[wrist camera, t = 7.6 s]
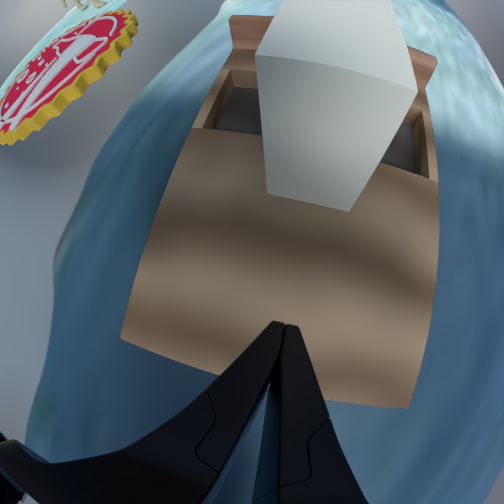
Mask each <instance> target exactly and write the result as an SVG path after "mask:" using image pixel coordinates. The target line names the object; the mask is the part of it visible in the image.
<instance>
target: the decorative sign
mask: <svg viewBox="0 0 504 504" xmlns="http://www.w3.org/2000/svg"><path fill="white" fill-rule="evenodd" d="M137 25H138V21H137V19H136V17H135V15H134V14H132V13H131V11H130V10H129V11H125V12H123V10H122V9H121V10H118V11H115V12H112V11H109V12H104V13H102V14H100V15H96V16H95V17H93V18H91V19H89V20H85V21H83V22H81V23H80V24H78V25H77V26H75V27H73V28H70V29H69V30H67V31H66V32H65V33H64V34H62V35H61V36H59V37H57V38H55V39H54V40H53V41H52V42H51V43H50V44H49V45H48V46H46V47H45V48H43V49H42V50H41V51H40V52H39V53H38V54H37V55H36V56H35V57H34V58H33V59H32V60H31V61H29V62H28V63H27V65H26V66H25V68H24V69H23V70H22V71H21V72H20V73H19V74H18V75H17V76H16V77H15V79H14V81H13V83H12V84H11V85H10V86H9V87H8V88H7V90H6V92H5V95H4V96H3V98H2V99H1V100H0V144H1V145H4V144H5V143H8V144H9V145H10V146H11V145H13V144H14V143H15V142H16V141H17V140H18V139H20V140H22V141H23V140H25V139H26V138H27V136H28V135H29V134H30V133H31V132H32V131H34V130H36V131H39V130H41V129H42V128H43V126H44V125H45V124H46V122H47V121H48V120H49V119H50V118H52V117H56V116H59V115H60V114H61V113H62V112H63V111H64V109H65V108H66V107H67V105H68V104H69V103H70V102H71V101H73V100H75V99H77V98H79V97H81V96H82V95H83V94H84V92H85V91H86V89H87V88H88V86H89V85H90V84H91V83H93V82H94V81H96V80H98V79H100V78H101V77H103V76H104V74H105V72H106V69H107V68H108V67H109V66H110V65H111V64H113V63H114V62H116V61H118V60H119V59H120V58H121V52H122V51H123V50H124V49H126V48H127V47H129V46H130V45H131V44H132V40H131V38H132V37H133V36H135V35H136V34H137V33H138V30H137V28H136V26H137Z"/></svg>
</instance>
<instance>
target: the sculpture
mask: <svg viewBox="0 0 504 504" xmlns="http://www.w3.org/2000/svg"><path fill="white" fill-rule="evenodd" d="M61 1H62V3H63V6H64V7H66V6H67V5H66V2H65V0H61ZM74 1H75V3H76V4H77V7H78V9H80V10H83V9H85V8H86V7H87V6H83V5H82V4H81V3H80V1H79V0H74ZM88 1H89V2H90V3H92V4H93V6H94V7H97V8H98V7H101V6H103V5H105V4H106V2H98V1H96V0H88Z"/></svg>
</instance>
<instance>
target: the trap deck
mask: <svg viewBox="0 0 504 504" xmlns="http://www.w3.org/2000/svg"><path fill="white" fill-rule="evenodd" d="M273 18H274V17H273V16H255V15H232V16H231V17H230V18H229V25H230V31H231V36H232V42H233V50H232V52H231V54H230V55H229V57H228V59H227V60H226V62H225V64H224V66H223V67H222V69H221V71H220V73H219V75H218V76H217V78H216V80H215V82H214V84H213V86H212V88H211V90H210V91H209V93H208V95H207V97H206V99H205V101H204V103H203V105H202V107H201V109H200V111H199V113H198V115H197V117H196V119H195V122H194V124H193V126H192V128H191V130H190V132H189V134H188V137H187V139H186V141H185V143H184V145H183V148H182V150H181V152H180V155H179V157H178V159H177V162H176V164H175V166H174V169H173V171H172V174H171V176H170V178H169V181H168V183H167V186H166V189H165V191H164V194H163V196H162V199H161V202H160V204H159V207H158V210H157V213H156V215H155V218H154V221H153V224H152V227H151V230H150V233H149V235H148V238H147V242H146V245H145V248H144V251H143V254H142V257H141V260H140V264H139V267H138V270H137V274H136V277H135V281H134V284H133V288H132V291H131V295H130V299H129V303H128V307H127V311H126V315H125V319H124V323H123V327H122V331H121V336H120V339H122V340H125V341H127V342H129V343H132V344H134V345H136V346H139V347H141V348H144V349H146V350H149V351H151V352H154V353H156V354H159V355H161V356H164V357H167V358H169V359H172V360H175V361H178V362H180V363H183V364H186V365H189V366H192V367H195V368H198V369H201V370H204V371H207V372H211V373H214V374H217V375H221V374H222V373H223V372H224V371H225V370H226V369H227V367H228V366H229V365H230V364H231V363H232V362H233V361H234V360H235V359H236V358H237V357H238V356H239V355H240V354H241V353H242V352H243V351H244V350H245V349H246V348H247V347H248V346H249V345H250V344H251V343H252V342H253V341H254V339H255V338H256V337H257V336H258V335H259V334H260V333H261V332H262V331H263V330H264V329H265V328H266V327H267V325H268V324H269V323H270V322H271V321H273V320H275V321H279V322H283V323H285V325H286V324H292V325H296V326H298V327H299V328H300V331H301V333H302V336H303V339H304V342H305V345H306V348H307V351H308V353H309V356H310V359H311V362H312V365H313V368H314V371H315V374H316V377H317V380H318V383H319V386H320V389H321V392H322V395H323V398H324V399H325V400H332V401H338V402H346V403H354V404H362V405H372V406H383V407H397V408H409V405H410V402H411V398H412V395H413V392H414V389H415V385H416V382H417V378H418V375H419V371H420V367H421V363H422V359H423V355H424V351H425V346H426V342H427V337H428V332H429V326H430V321H431V315H432V309H433V302H434V294H435V286H436V277H437V266H438V251H439V185H438V170H437V159H436V150H435V142H434V134H433V128H432V122H431V116H430V110H429V105H428V100H427V96H426V91H425V88H426V86H427V84H428V82H429V80H430V78H431V76H432V74H433V72H434V70H435V68H436V66H437V64H438V62H437V60H436V57H434V56H432V55H429V54H427V53H425V52H422V51H420V50H417V49H415V48H412V47H409V46H407V48H408V52H409V56H410V59H411V63H412V67H413V71H414V75H415V80H416V84H417V89H418V93H417V95H416V97H415V99H414V101H413V102H412V104H411V106H410V108H409V110H408V112H407V114H406V116H405V118H404V119H403V121H402V123H401V125H400V127H399V129H398V130H397V132H396V134H395V136H394V138H393V139H392V141H391V143H390V145H389V146H388V148H387V150H386V152H385V153H384V155H383V157H382V159H381V160H380V162H379V164H378V165H377V167H376V169H375V171H374V172H373V174H372V176H371V177H370V179H369V181H368V182H367V184H366V185H365V187H364V189H363V190H362V192H361V194H360V195H359V197H358V198H357V200H356V202H355V203H354V205H353V206H352V208H351V210H350V211H349V212H346V211H342V210H338V209H334V208H330V207H325V206H321V205H317V204H313V203H308V202H304V201H299V200H295V199H290V198H285V197H281V196H276V195H271V194H267V185H266V173H265V160H264V149H263V137H262V126H261V115H260V104H259V94H258V83H257V73H256V64H255V53H256V51H257V49H258V47H259V45H260V43H261V41H262V39H263V37H264V35H265V33H266V31H267V29H268V27H269V25H270V23H271V22H272V20H273ZM269 384H270V383H269ZM268 388H269V386H268Z"/></svg>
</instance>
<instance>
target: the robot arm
mask: <svg viewBox="0 0 504 504" xmlns="http://www.w3.org/2000/svg"><path fill="white" fill-rule="evenodd" d="M269 383H270V384H269ZM268 386H269V389H268ZM267 389H268V396H267V404H266V411H265V419H264V426H263V433H262V440H261V447H260V454H259V460H258V467H257V473H256V479H255V485H254V491H253V497H252V503H251V504H369V503H368V502H367V500H366V498H365V497H364V495H363V493H362V491H361V489H360V487H359V485H358V483H357V481H356V479H355V477H354V475H353V472H352V470H351V468H350V466H349V464H348V462H347V460H346V458H345V456H344V453H343V451H342V449H341V447H340V444H339V442H338V439H337V436H336V433H335V431H334V428H333V424H332V421H331V419H329V417H330V416H329V413H328V410H327V407H326V404H325V401H324V398H323V395H322V392H321V389H320V386H319V383H318V380H317V377H316V374H315V371H314V368H313V365H312V362H311V359H310V356H309V353H308V351H307V348H306V345H305V342H304V339H303V336H302V333H301V331H300V328H299V327H298V326H296V325H292V324H286V325H285V323H283V322H279V321H275V320H273V321H271V322H270V323H269V324H268V325H267V327H266V328H265V329H264V330H263V331H262V332H261V333H260V334H259V335H258V336H257V337H256V338H255V339H254V341H253V342H252V343H251V344H250V345H249V346H248V347H247V348H246V349H245V350H244V351H243V352H242V353H241V354H240V355H239V356H238V357H237V358H236V359H235V360H234V361H233V362H232V363H231V364H230V365H229V366H228V367H227V369H226V370H225V371H224V372H223V373H222V374H221V375H220V376H219V377H218V378H217V379H216V380H215V381H214V382H213V383H211V384H210V385H209V386H208V387H207V388H206V390H204V391H203V392H202V393H201V394H200V395H199V396H198V397H197V398H196V399H195V400H194V401H192V402H191V403H190V404H189V405H188V406H187V407H186V408H184V409H183V410H182V411H181V412H179V413H178V414H177V415H175V416H174V417H173V418H171V419H170V420H169V421H167V422H166V423H164V424H163V425H161V426H160V427H158V428H157V429H155V430H154V431H152V432H150V433H149V434H147V435H146V436H144V437H143V438H141V439H140V440H138V441H136V442H135V443H133V444H131V445H129V446H127V447H125V448H123V449H121V450H118V451H115V452H112V453H108V454H103V455H99V456H94V457H89V458H84V459H79V460H73V461H67V462H60V463H50V462H49V461H47V460H45V459H44V458H42V457H41V456H39V455H38V454H36V453H35V452H33V451H32V450H30V449H29V448H27V447H26V446H25V445H23V444H22V443H20V442H18V441H17V440H14V439H11V440H8V439H7V438H6V437H5V436H4V435H3V434H2V433H1V432H0V504H213V502H214V500H215V499H216V497H217V494H218V493H219V491H220V489H221V487H222V485H223V484H224V482H225V480H226V478H227V476H228V474H229V472H230V470H231V468H232V466H233V464H234V462H235V460H236V458H237V456H238V454H239V452H240V449H241V447H242V445H243V443H244V441H245V439H246V437H247V435H248V432H249V430H250V428H251V426H252V424H253V422H254V419H255V417H256V415H257V413H258V410H259V408H260V406H261V403H262V401H263V399H264V396H265V394H266V392H267Z"/></svg>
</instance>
